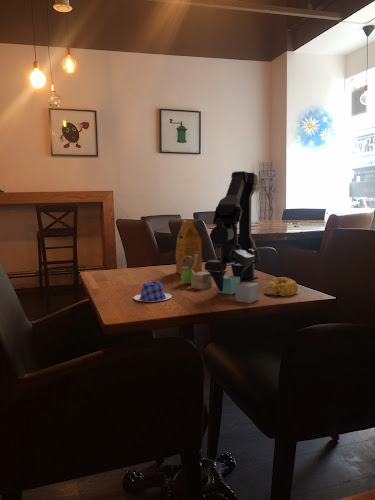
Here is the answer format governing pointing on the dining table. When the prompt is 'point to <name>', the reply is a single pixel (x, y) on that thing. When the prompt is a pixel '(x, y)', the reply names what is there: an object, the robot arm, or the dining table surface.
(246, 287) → the grey cube
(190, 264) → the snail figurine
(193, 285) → the walnut block
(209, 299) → the dining table surface
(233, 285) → the teal block
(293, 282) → the bagel
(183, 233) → the coffee package
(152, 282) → the pudding
